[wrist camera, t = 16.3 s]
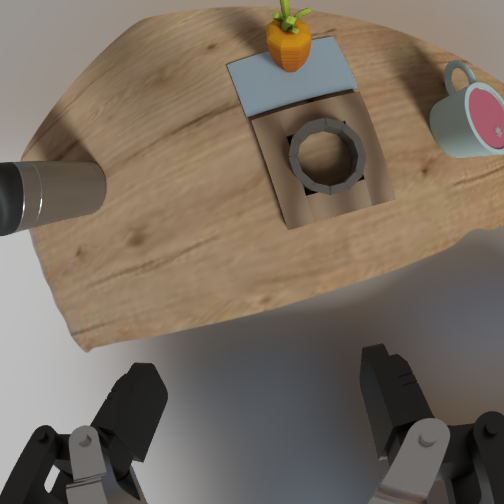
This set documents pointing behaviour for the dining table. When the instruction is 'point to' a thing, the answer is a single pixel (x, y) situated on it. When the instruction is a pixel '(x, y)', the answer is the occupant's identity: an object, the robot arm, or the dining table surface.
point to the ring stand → (292, 178)
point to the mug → (468, 118)
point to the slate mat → (290, 78)
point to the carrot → (288, 39)
